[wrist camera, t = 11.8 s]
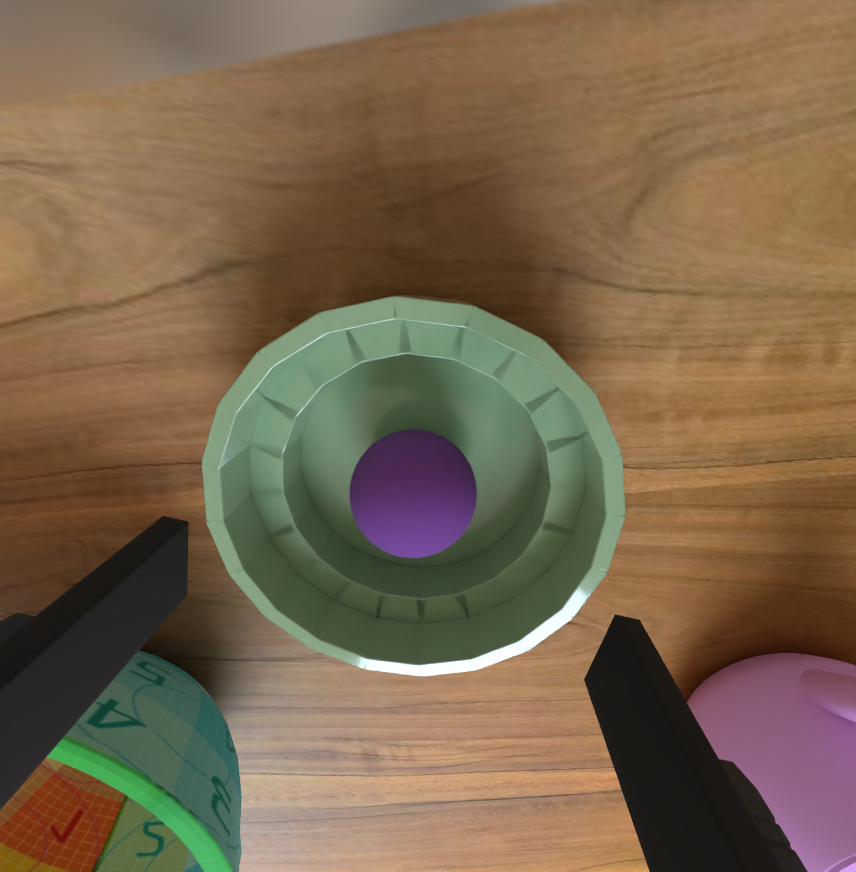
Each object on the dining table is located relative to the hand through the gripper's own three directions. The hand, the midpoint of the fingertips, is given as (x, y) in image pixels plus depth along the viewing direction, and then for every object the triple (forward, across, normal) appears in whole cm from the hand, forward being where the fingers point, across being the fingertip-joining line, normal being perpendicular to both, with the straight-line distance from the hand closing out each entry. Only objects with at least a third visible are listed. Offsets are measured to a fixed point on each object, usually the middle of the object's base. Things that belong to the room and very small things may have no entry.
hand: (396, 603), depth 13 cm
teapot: (+11, +26, -12) cm, 31 cm away
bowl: (+11, -15, -22) cm, 29 cm away
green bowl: (+11, 0, 0) cm, 11 cm away
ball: (+10, 0, 0) cm, 10 cm away
